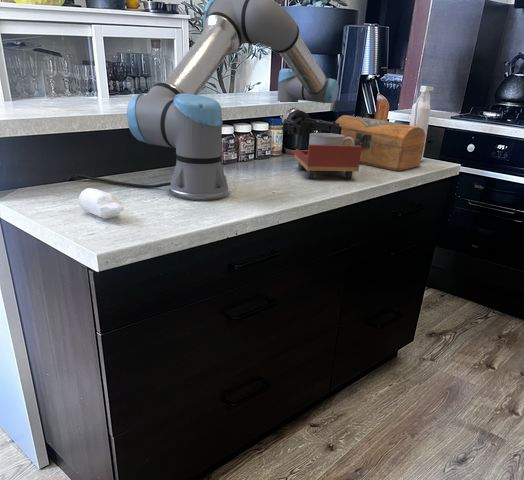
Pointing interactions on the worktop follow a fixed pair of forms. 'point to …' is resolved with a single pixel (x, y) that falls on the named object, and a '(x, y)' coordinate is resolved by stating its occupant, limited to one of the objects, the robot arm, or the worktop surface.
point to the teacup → (328, 139)
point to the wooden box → (384, 142)
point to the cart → (329, 159)
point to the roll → (100, 203)
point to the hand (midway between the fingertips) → (321, 131)
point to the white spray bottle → (422, 111)
